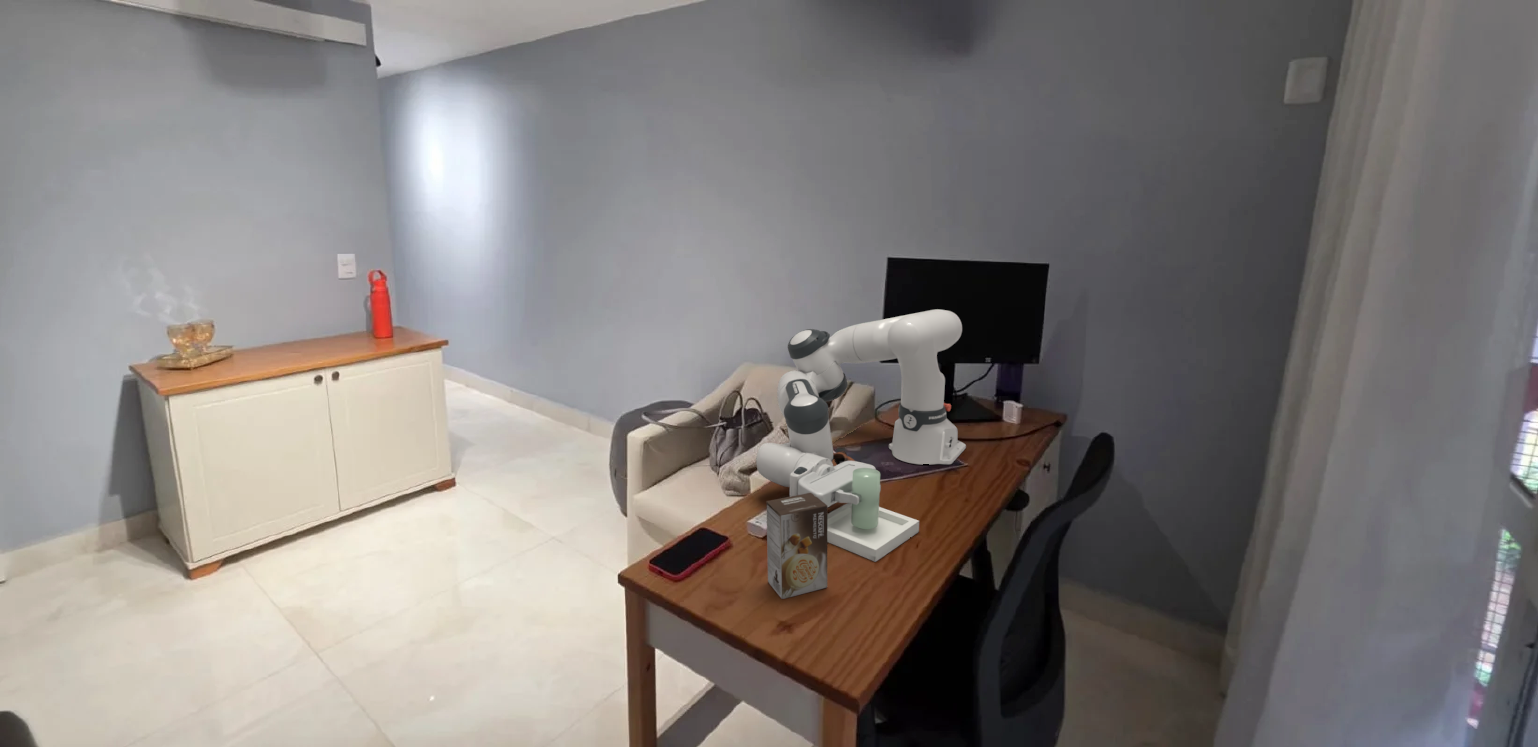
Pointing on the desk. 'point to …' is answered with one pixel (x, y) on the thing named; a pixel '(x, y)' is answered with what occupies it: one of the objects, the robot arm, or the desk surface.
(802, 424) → the robot arm
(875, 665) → the desk surface
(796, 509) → the coffee box
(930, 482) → the desk surface
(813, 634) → the desk surface
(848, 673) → the desk surface
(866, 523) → the green cylinder
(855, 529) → the tray
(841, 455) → the pottery mug
